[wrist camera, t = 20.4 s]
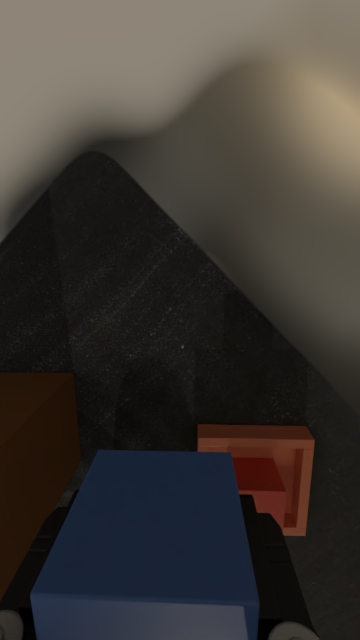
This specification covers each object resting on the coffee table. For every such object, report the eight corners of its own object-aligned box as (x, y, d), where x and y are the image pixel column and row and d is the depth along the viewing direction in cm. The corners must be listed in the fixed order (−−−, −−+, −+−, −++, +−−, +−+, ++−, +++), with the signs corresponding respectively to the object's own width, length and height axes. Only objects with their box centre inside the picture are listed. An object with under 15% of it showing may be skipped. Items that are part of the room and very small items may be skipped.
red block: (229, 457, 31) (235, 490, 27) (273, 458, 31) (286, 491, 27) (228, 494, 32) (233, 532, 28) (270, 495, 32) (283, 533, 28)
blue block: (97, 448, 10) (28, 594, 6) (231, 451, 10) (260, 604, 6) (106, 555, 11) (51, 746, 7) (227, 559, 11) (250, 759, 7)
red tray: (197, 423, 31) (197, 437, 29) (305, 425, 31) (315, 440, 29) (197, 513, 34) (197, 532, 31) (297, 516, 33) (305, 536, 31)
